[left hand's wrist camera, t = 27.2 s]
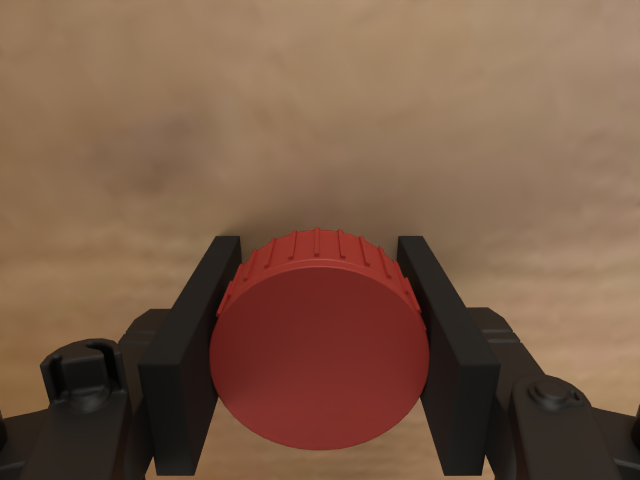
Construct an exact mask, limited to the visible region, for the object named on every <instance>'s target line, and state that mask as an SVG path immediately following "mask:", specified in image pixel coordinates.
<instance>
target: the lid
mask: <svg viewBox="0 0 640 480" xmlns="http://www.w3.org/2000/svg"><path fill="white" fill-rule="evenodd" d="M420 313H421V309H420V307H419V304H418V302H417V299H416V297H415V295H414V292H413V290H412V287H411V285H410V282H409V280H408V278H407V277H406V278H404V277H403V275H402V272H401V270H400V267H399V265H398V263H397V261H394V262H393V261H392V260H391V259H390V258H389V257H388V256H387V255H386V254H385V253H384V251H383V248H381V247H379V248H377V247H375V246H374V245H372V244H371V243H369V242H367V241H365V240H364V237H362V236H360V237H359V238H358V237H355V236H353V235H350V234H346V233H343V232H342V230H339V229H338V232H337V231H328V230H319V228H315V230H310V231H302V232H297V231H296V230H295V231H292V234H289V235H286V236H283V237H281V238H279V239H275V238H273V239H271V242H270V243H269V244H267V245H265V246H263V247H262V248H261V249H259V250H257V249H255V250H254V251H253V253H252V255H251V257H250V258H249V259H248V260H247V261H246V262H245V264H244V265H242V264H240V265H239V267H238V269H237V272H236V274H235V277H234V279H233V281H230V283H229V285H228V287H227V290H226V292H225V294H224V297H223V299H222V302H221V304H220V306H219V309H218V311H217V313H216V316H217V317H219V318H218V320H217V323H216V325H215V328H214V331H213V333H212V336H211V342H210V347H209V364H210V373H211V377H212V381H213V384H214V387H215V389H216V391H217V393H218V396H219V397H220V399H221V400H222V402H223V404H224V405H225V407H226V408H227V409H228V410H229V411H230V413H231V414H232V415H233V416H234V417H235V418H236V419H237V420H238V421H239V422H241V423H242V424H243V425H244V426H246V427H247V428H248V429H250V430H251V431H253V432H254V433H256V434H258V435H260V436H261V437H263V438H266V439H268V440H270V441H273V442H275V443H278V444H281V445H285V446H288V447H293V448H298V449H306V450H333V449H341V448H346V447H351V446H355V445H358V444H361V443H364V442H367V441H369V440H371V439H373V438H376V437H378V436H380V435H381V434H383V433H385V432H386V431H388V430H389V429H391V428H392V427H393V426H395V425H396V424H397V423H399V422H400V421H401V420H402V419H403V418H404V417H405V416H406V415H407V414H408V413H409V411H410V410H411V409H412V408H413V406H414V405H415V404H416V402H417V400H418V399H419V397H420V395H421V394H422V391H423V389H424V386H425V384H426V381H427V377H428V369H429V359H430V349H429V343H428V338H427V334H426V327H425V325H424V322H423V320H422V317H421V315H420Z"/></svg>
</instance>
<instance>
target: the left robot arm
mask: <svg viewBox="0 0 640 480" xmlns="http://www.w3.org/2000/svg"><path fill="white" fill-rule="evenodd" d="M397 263H398V265H399V267H400V270H401V272H402V275H403V277H404V278H406V277H407V278H408V280H409V282H410V285H411V287H412V290H413V292H414V295H415V297H416V299H417V302H418V304H419V307H420V309H421V313H420V315H421V317H422V320H423V322H424V325H425V327H426V334H427V338H428V343H429V349H430V359H429V369H428V377H427V381H426V384H425V386H424V389H423V391H422V394H421V395H420V399H421V402H422V405H423V408H424V412H425V415H426V418H427V421H428V425H429V428H430V431H431V434H432V437H433V441H434V444H435V447H436V450H437V454H438V457H439V460H440V463H441V467H442V470H443V473H444V476H482V470H483V464H484V459H485V454H486V457H487V459H488V461H489V464H490V466H491V468H492V471H493V473H494V475H495V479H494V480H640V405H639V408H638V411H637V414H636V417H634V416H630V415H625V414H620V413H615V412H611V411H606V410H601V409H598V408H594V407H592V406H591V404H590V402H589V400H588V399H587V398H586V396H585V395H584V393H582V392H581V391H580V390H579V389H577V388H576V387H575V386H573V385H572V384H570V383H568V382H566V381H564V380H561V379H559V378H557V377H553V376H549V375H545V373H544V372H543V371H542V369H541V368H540V367H539V365H538V364H537V363H536V361H535V360H534V358H533V357H532V356H531V354H530V353H529V352H528V350H527V349H526V348H525V346H524V345H523V344H522V343H520V339H519V338H518V337H517V335H516V334H515V333H513V330H512V329H511V327H510V326H509V325H508V323H507V322H506V320H505V319H504V318H503V317H501V316H500V315H498V314H497V313H495V312H494V311H492V310H491V309H489V308H466V306H465V305H464V303H463V301H462V300H461V298H460V297H459V295H458V293H457V292H456V290H455V288H454V287H453V285H452V284H451V282H450V280H449V279H448V277H447V275H446V274H445V272H444V271H443V269H442V267H441V266H440V264H439V262H438V261H437V259H436V258H435V256H434V254H433V253H432V251H431V249H430V248H429V246H428V244H427V243H426V241H425V240H424V238H423V236H399V238H398V253H397ZM240 264H242V262H241V248H240V236H216V237H215V238H214V240H213V242H212V243H211V245H210V247H209V248H208V250H207V251H206V253H205V255H204V256H203V258H202V260H201V261H200V263H199V264H198V266H197V268H196V269H195V271H194V273H193V274H192V276H191V278H190V279H189V281H188V282H187V284H186V286H185V287H184V289H183V291H182V292H181V294H180V295H179V297H178V299H177V300H176V302H175V304H174V305H173V307H172V308H171V309H150V310H148V311H147V312H145V313H144V314H142V315H141V316H139V317H138V318H136V319H135V320H134V321H133V323H132V324H131V325H130V327H129V328H128V330H127V331H126V334H124V335H123V336H122V338H121V339H120V340H119V342H118V344H117V343H116V342H114V341H112V340H108V339H103V338H99V339H86V340H82V341H77V342H73V343H71V344H68V345H66V346H64V347H61V348H59V349H57V350H56V351H54V352H53V353H51V354H50V355H48V356H47V357H46V358H45V359H44V361H43V362H42V363H41V364H40V369H41V372H42V376H43V380H44V383H45V387H46V391H47V394H48V398H49V402H50V404H49V407H48V409H45V410H41V411H37V412H33V413H28V414H24V415H19V416H14V417H10V418H5V419H3V417H2V414H1V411H0V480H146V479H145V474H146V471H147V469H148V467H149V464H150V462H151V460H152V457H153V456H154V462H155V467H156V473H157V476H194V475H195V471H196V468H197V465H198V462H199V458H200V455H201V452H202V449H203V445H204V442H205V439H206V436H207V432H208V429H209V426H210V423H211V419H212V416H213V413H214V410H215V406H216V403H217V400H218V397H219V396H218V393H217V391H216V389H215V387H214V384H213V381H212V377H211V373H210V364H209V347H210V342H211V336H212V333H213V331H214V328H215V325H216V323H217V320H218V318H219V317H217V316H216V313H217V311H218V309H219V306H220V304H221V302H222V299H223V297H224V294H225V292H226V290H227V287H228V285H229V283H230V281H233V279H234V277H235V274H236V272H237V269H238V267H239V265H240Z"/></svg>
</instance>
